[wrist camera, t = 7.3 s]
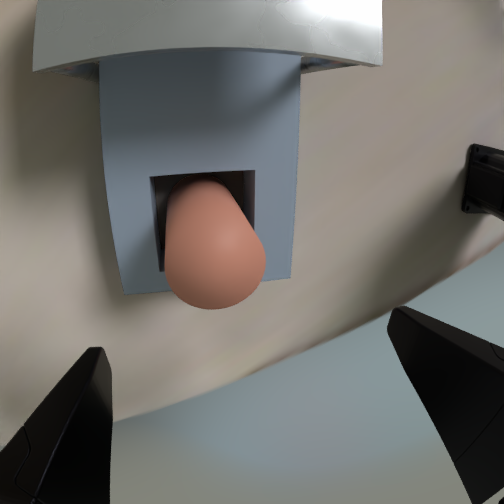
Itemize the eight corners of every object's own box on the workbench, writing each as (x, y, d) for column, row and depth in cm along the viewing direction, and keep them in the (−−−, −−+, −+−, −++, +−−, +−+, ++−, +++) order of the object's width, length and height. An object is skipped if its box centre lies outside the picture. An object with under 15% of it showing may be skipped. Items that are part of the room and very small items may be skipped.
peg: (230, 171, 19) (266, 214, 12) (232, 232, 21) (265, 302, 14) (164, 176, 18) (158, 224, 11) (170, 238, 20) (171, 314, 13)
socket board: (282, -10, 14) (300, -26, 12) (276, 256, 22) (290, 278, 20) (115, -9, 12) (105, -26, 10) (129, 270, 20) (124, 294, 18)
